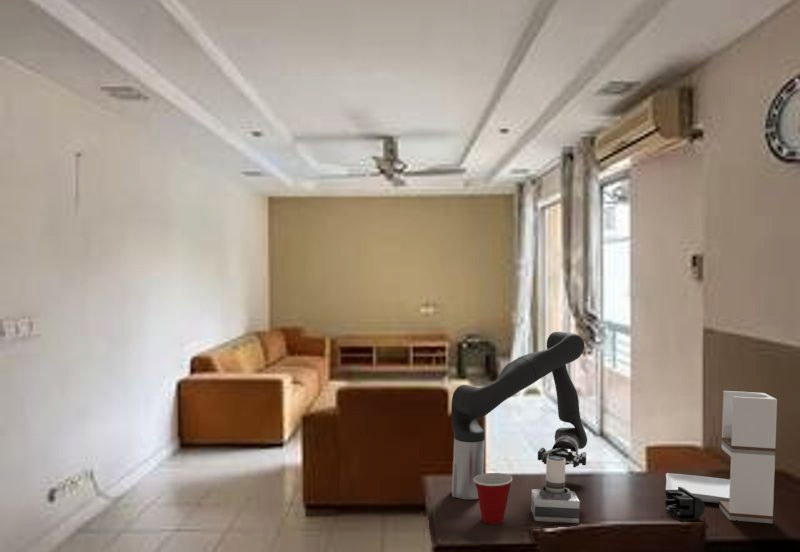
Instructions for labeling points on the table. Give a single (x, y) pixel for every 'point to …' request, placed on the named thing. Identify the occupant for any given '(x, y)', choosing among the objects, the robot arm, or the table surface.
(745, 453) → the white shelf tower
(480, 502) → the plastic cup
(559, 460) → the lens barrel
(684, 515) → the end cap
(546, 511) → the banded square pedestal
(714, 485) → the salad plate
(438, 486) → the table surface
